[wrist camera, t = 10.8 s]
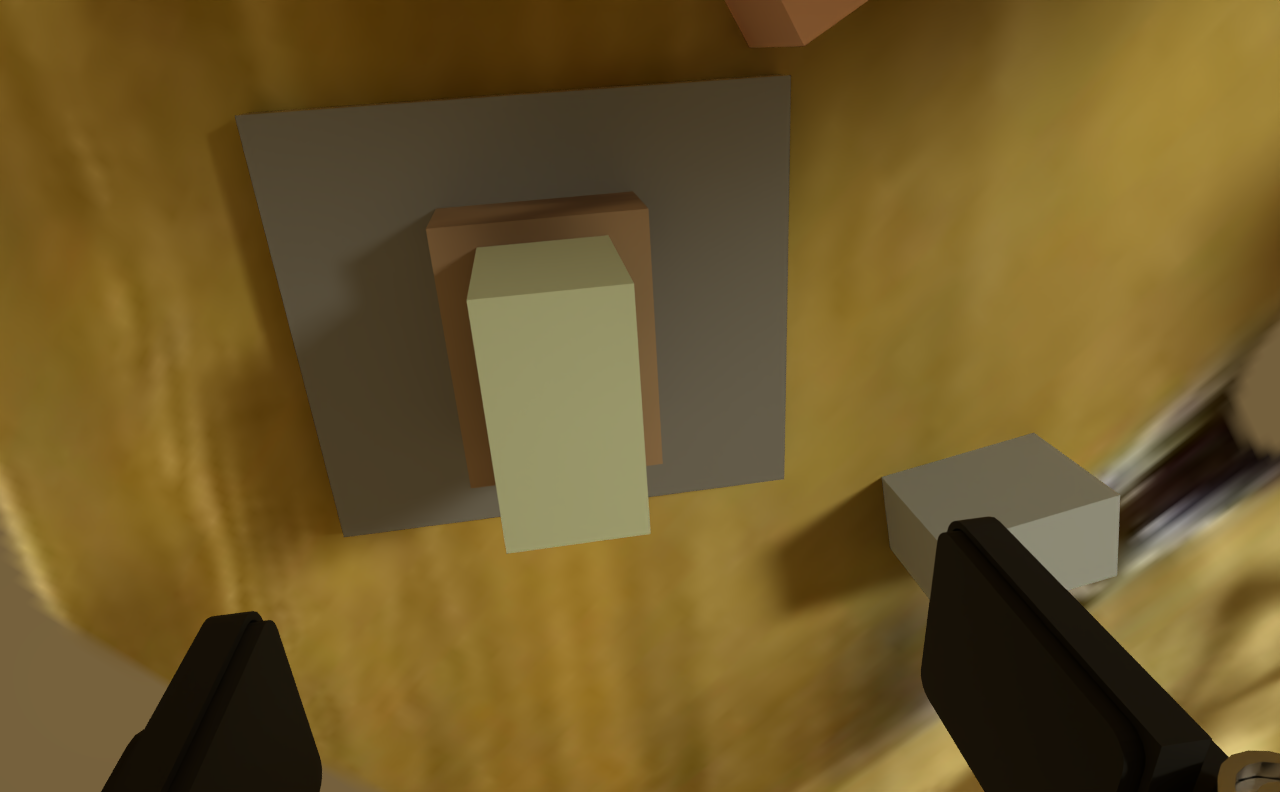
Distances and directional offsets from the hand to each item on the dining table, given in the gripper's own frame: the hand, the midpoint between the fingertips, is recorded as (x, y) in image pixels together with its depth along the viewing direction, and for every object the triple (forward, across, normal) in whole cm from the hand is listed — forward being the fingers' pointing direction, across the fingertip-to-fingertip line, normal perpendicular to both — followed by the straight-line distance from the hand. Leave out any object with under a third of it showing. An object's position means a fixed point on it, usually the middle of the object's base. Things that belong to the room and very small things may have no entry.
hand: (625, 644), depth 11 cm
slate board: (+17, +1, +1) cm, 17 cm away
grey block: (+17, -15, +10) cm, 25 cm away
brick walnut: (+16, +1, +1) cm, 16 cm away
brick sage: (+13, +1, 0) cm, 13 cm away
